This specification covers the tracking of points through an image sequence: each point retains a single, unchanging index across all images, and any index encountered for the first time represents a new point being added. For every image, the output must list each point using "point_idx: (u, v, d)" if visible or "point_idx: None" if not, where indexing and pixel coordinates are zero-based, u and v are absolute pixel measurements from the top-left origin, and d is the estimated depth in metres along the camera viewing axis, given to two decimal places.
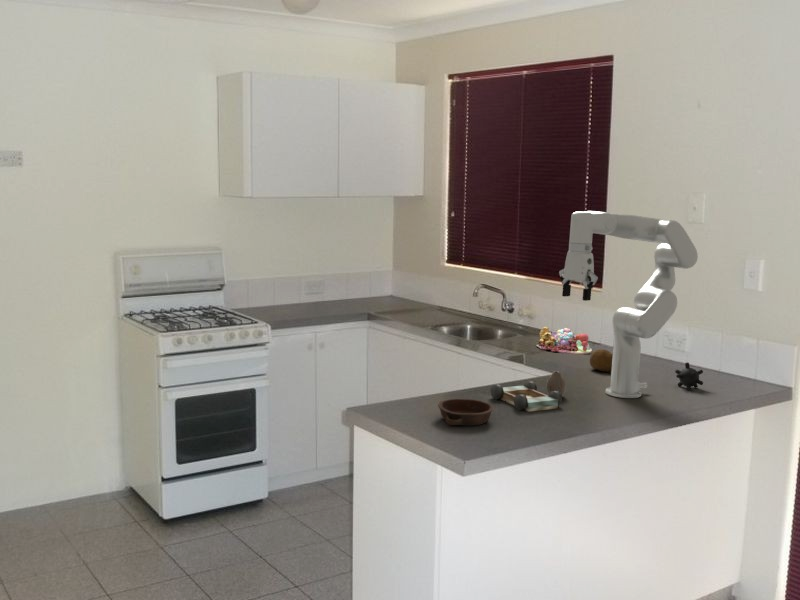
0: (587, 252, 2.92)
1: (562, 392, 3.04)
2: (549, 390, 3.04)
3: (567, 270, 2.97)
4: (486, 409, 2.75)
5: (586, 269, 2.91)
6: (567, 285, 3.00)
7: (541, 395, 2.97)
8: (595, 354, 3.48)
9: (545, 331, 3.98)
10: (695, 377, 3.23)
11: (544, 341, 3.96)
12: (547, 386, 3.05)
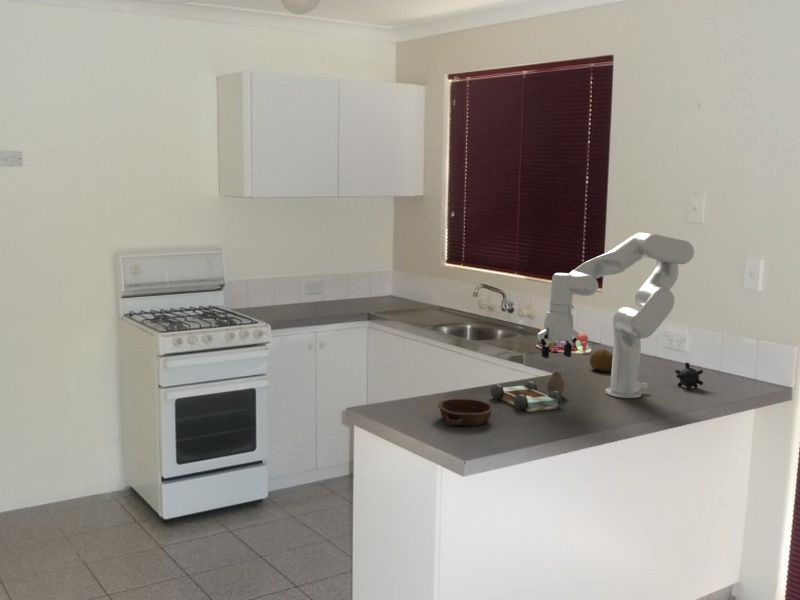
0: None
1: (562, 392, 3.04)
2: (549, 390, 3.04)
3: (556, 332, 3.00)
4: (486, 409, 2.75)
5: None
6: None
7: (541, 395, 2.97)
8: (595, 354, 3.48)
9: None
10: (695, 377, 3.23)
11: None
12: (547, 386, 3.05)
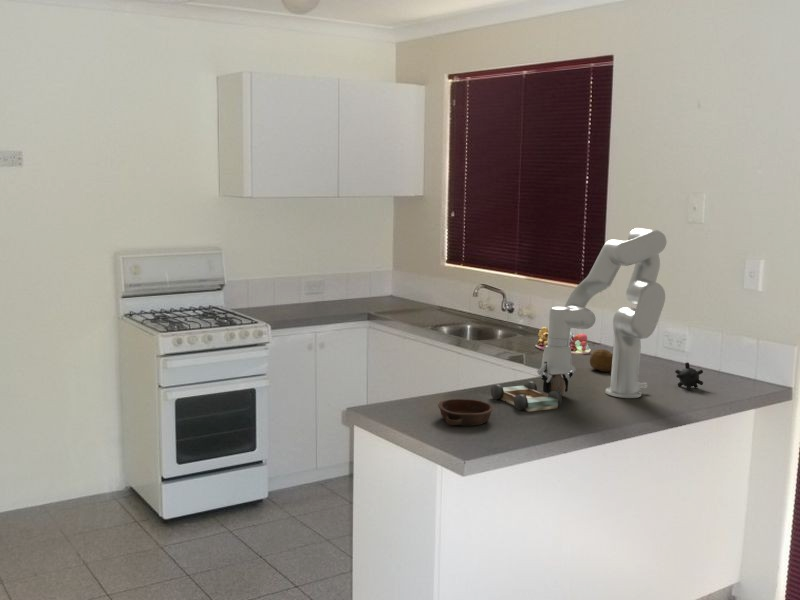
0: None
1: (562, 392, 3.04)
2: None
3: (554, 366, 3.02)
4: (486, 409, 2.75)
5: None
6: None
7: (541, 395, 2.97)
8: (595, 354, 3.48)
9: (544, 331, 3.98)
10: (695, 377, 3.23)
11: (543, 341, 3.95)
12: None
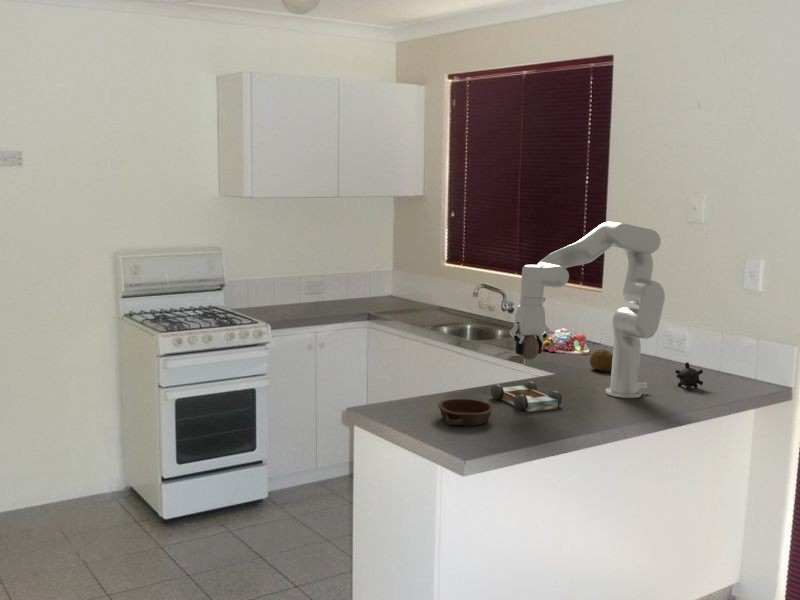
0: None
1: (535, 353, 2.92)
2: None
3: (527, 326, 2.90)
4: (486, 409, 2.75)
5: None
6: None
7: (541, 395, 2.97)
8: (595, 354, 3.48)
9: None
10: (695, 377, 3.23)
11: None
12: None
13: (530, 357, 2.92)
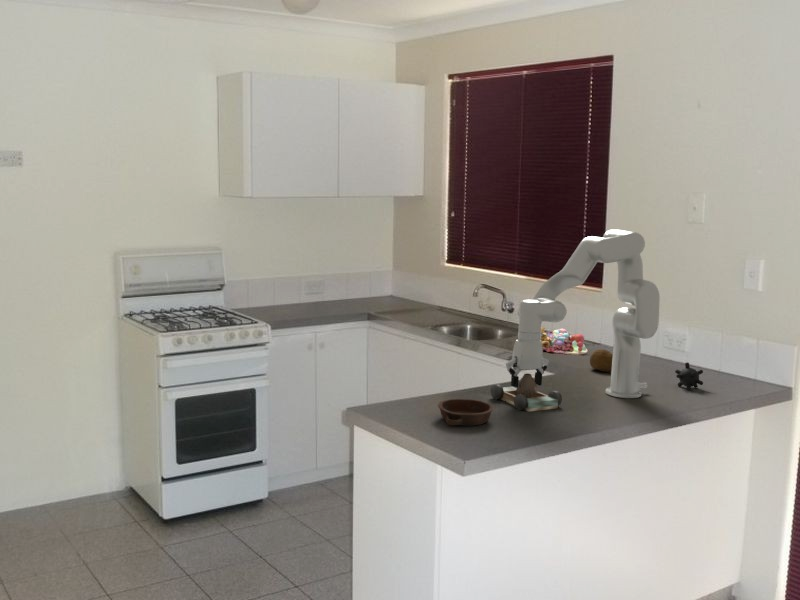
0: None
1: (533, 395, 2.94)
2: (519, 393, 2.95)
3: (525, 361, 2.92)
4: (486, 409, 2.75)
5: None
6: None
7: (541, 395, 2.97)
8: (595, 354, 3.48)
9: (541, 331, 3.97)
10: (695, 377, 3.23)
11: None
12: (517, 388, 2.95)
13: None
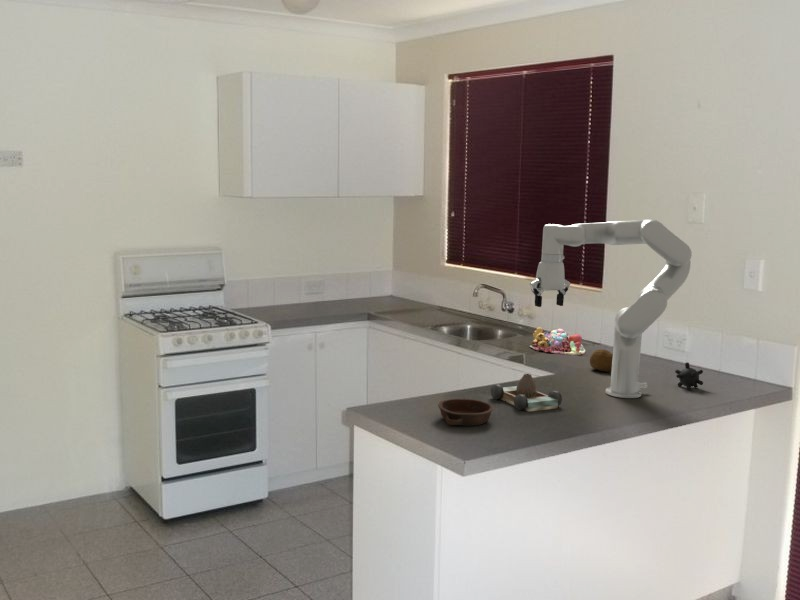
0: None
1: (533, 395, 2.94)
2: (519, 393, 2.95)
3: (548, 281, 3.10)
4: (486, 409, 2.75)
5: None
6: None
7: (541, 395, 2.97)
8: (595, 354, 3.48)
9: (539, 332, 3.96)
10: (695, 377, 3.23)
11: (538, 342, 3.93)
12: (517, 388, 2.95)
13: None
